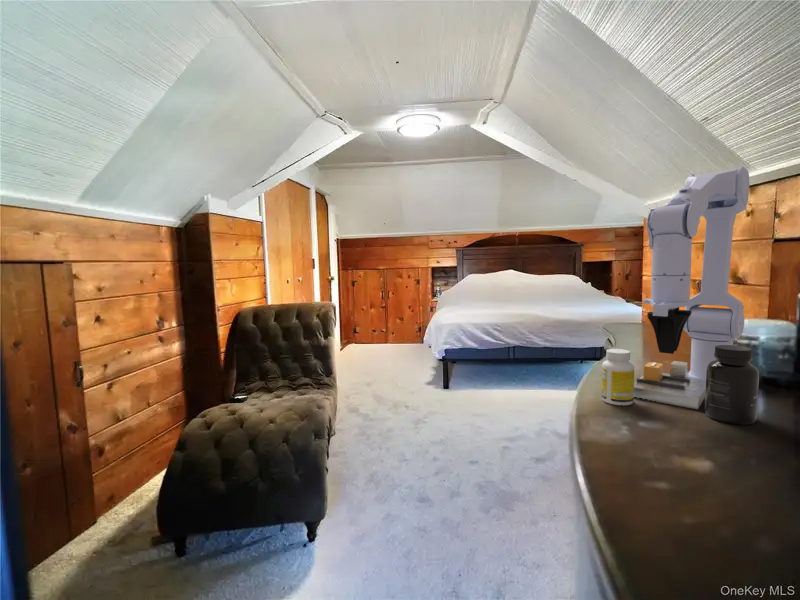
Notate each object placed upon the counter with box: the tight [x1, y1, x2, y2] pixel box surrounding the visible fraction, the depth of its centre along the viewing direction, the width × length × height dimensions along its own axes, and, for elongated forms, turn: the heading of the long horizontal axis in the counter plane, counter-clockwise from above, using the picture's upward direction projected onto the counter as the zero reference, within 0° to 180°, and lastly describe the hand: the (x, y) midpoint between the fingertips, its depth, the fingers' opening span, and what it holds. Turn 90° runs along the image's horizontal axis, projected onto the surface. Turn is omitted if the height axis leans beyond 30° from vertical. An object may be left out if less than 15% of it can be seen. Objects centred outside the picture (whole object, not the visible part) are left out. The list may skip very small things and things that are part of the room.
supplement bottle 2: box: [704, 344, 760, 426], centre depth 68 cm, size 7×7×12 cm
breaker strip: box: [634, 360, 706, 410], centre depth 81 cm, size 14×11×5 cm
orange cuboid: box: [643, 361, 664, 382], centre depth 83 cm, size 4×2×3 cm, turn 136°
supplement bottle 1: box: [601, 348, 635, 407], centre depth 77 cm, size 5×5×10 cm
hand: (668, 351), depth 73 cm, fingers closed
